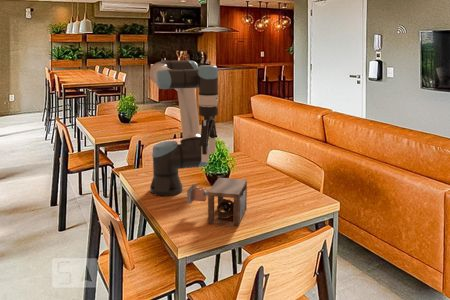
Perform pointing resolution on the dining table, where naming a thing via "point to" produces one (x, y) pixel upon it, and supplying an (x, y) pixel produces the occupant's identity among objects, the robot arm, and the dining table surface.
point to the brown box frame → (201, 194)
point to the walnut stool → (227, 189)
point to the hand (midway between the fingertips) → (208, 157)
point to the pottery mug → (225, 209)
